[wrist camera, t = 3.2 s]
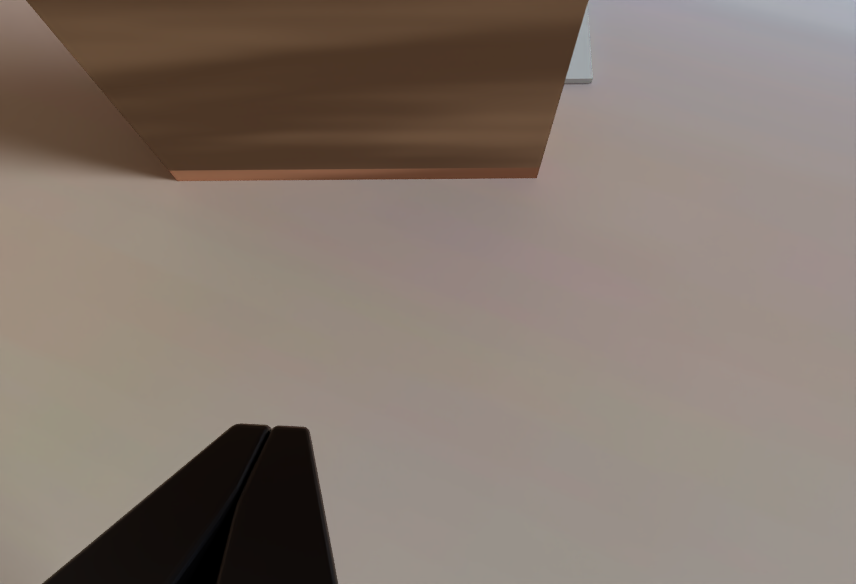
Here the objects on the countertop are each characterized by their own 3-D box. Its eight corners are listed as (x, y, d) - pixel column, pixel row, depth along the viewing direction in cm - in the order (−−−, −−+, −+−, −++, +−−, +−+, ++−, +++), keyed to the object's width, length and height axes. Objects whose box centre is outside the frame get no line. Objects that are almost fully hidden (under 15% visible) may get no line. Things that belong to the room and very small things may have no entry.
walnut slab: (536, 178, 24) (655, -229, 11) (177, 181, 24) (-153, -214, 11) (533, 97, 25) (638, -375, 11) (185, 101, 25) (-112, -358, 12)
